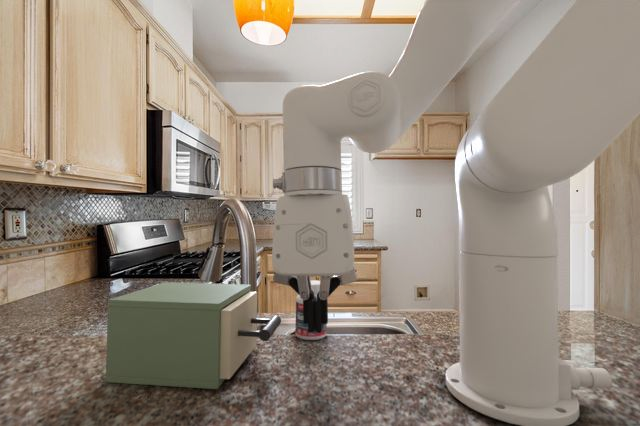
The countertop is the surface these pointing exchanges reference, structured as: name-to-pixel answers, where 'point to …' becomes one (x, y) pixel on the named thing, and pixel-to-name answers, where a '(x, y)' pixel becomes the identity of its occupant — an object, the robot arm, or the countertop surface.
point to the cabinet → (168, 334)
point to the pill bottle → (300, 327)
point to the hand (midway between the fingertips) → (316, 329)
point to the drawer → (241, 332)
